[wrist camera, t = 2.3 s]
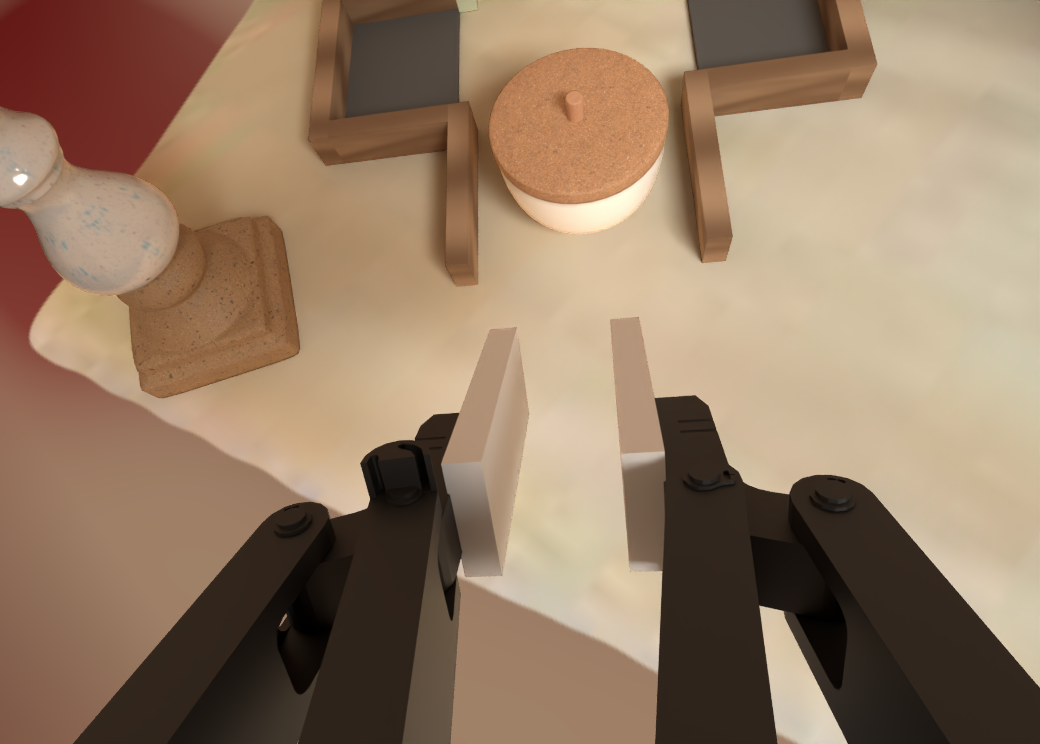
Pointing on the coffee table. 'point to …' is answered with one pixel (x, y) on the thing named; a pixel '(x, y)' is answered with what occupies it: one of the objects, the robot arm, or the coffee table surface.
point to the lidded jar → (580, 138)
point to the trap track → (451, 126)
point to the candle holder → (154, 263)
